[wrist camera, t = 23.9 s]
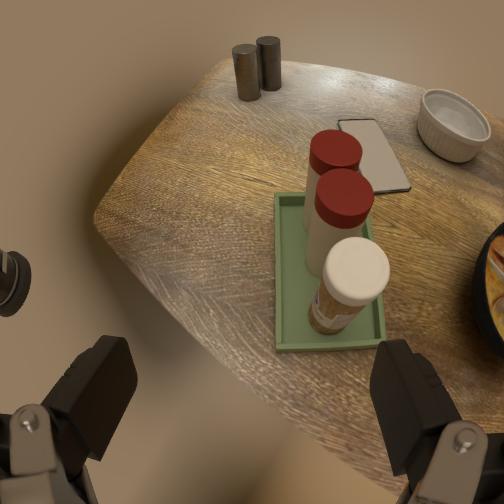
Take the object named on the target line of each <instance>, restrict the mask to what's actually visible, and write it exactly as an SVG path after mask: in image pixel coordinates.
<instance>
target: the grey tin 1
mask: <svg viewBox="0 0 504 504" xmlns="http://www.w3.org/2000/svg"><path fill="white" fill-rule="evenodd" d="M232 55H233V62H234V69H235V76H236V83H237V90H238V97H239V99H241V100H243V101H254V100H257V99H258V98H260V96H261V91H260V78H259V66H258V54H257V47H256V46H255V45H252V44H241V45H238V46H235V47H234V48H233V49H232Z"/></svg>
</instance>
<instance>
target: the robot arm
mask: <svg viewBox="0 0 504 504" xmlns="http://www.w3.org/2000/svg"><path fill="white" fill-rule="evenodd" d="M19 277H20V268H19V264H18V262H17V260H16V259H15V258H13V257H12V256H9V255H8V254H7V253H6V252H4V251H3V250H1V249H0V307H1V306H4V305H6V304H7V303H8V302H9V301H10V300H11V298H12V297H13V295H14V293H15V291H16V289H17V286H18V282H19ZM137 381H138V377H137V372H136V368H135V365H134V363H133V359H132V356H131V353H130V349H129V346H128V343H127V341H126V339H125V338H123V337H115V336H107V335H103V336H101V337H100V338H99V340H98V341H97V342H96V343H95V345H94V346H93V347H92V348H89V349H87V350H86V351H84V352H83V353H81V354H80V355H78V356H77V358H76V359H75V360H74V362H73V363H72V364H71V365H70V368H68V369H67V370H66V372H65V373H64V376H62V377H61V378H60V379H59V381H58V382H57V383H56V384H55V386H54V387H53V389H52V390H51V391H50V392H49V394H48V395H47V396H46V398H45V399H44V400H43V402H42V403H41V404H40V405H39V404H28V405H25V406H22V407H21V408H19V409H18V410H16V412H15V413H14V414H13V415H9V414H0V504H98V501H97V498H96V496H95V493H94V490H93V487H92V484H91V480H90V477H89V474H88V470H87V468H86V466H85V464H84V463H85V461H86V459H87V457H88V458H91V459H94V460H97V461H101V459H102V457H103V455H104V453H105V451H106V449H107V446H108V444H109V442H110V440H111V438H112V436H113V434H114V432H115V430H116V428H117V426H118V424H119V422H120V420H121V418H122V416H123V414H124V412H125V410H126V408H127V406H128V404H129V402H130V400H131V398H132V396H133V394H134V392H135V390H136V387H137ZM370 395H371V398H372V401H373V405H374V408H375V411H376V414H377V418H378V421H379V424H380V428H381V431H382V435H383V438H384V442H385V445H386V449H387V452H388V456H389V460H390V463H391V467H392V471H393V475H394V476H399V475H403V474H407V477H408V480H409V481H408V483H407V484H406V486H405V488H404V490H403V492H402V493H401V495H400V497H399V499H398V501H397V503H396V504H504V433H493V434H486V433H485V431H484V430H483V429H482V428H481V427H480V426H479V425H477V424H476V423H474V422H471V421H466V420H462V418H461V416H460V414H459V412H458V410H457V408H456V407H455V405H454V403H453V401H452V399H451V397H450V396H449V394H448V392H447V390H446V388H445V387H444V385H442V381H441V380H440V378H439V376H437V373H436V371H435V369H434V368H433V366H432V364H431V363H430V362H429V361H428V360H427V359H426V358H424V357H423V356H422V355H421V354H419V353H414V354H413V353H412V351H411V349H410V348H409V346H408V344H407V342H406V341H405V340H404V339H397V340H386V341H380V343H379V345H378V348H377V353H376V357H375V361H374V365H373V369H372V373H371V377H370Z"/></svg>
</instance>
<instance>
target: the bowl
mask: <svg viewBox="0 0 504 504" xmlns="http://www.w3.org/2000/svg"><path fill="white" fill-rule="evenodd" d="M472 302H473V312H474V319H475V322H476V325H477V328H478V329H479V331H480V333H481V334H482V336H483V338H484V340H485V341H486V343H487V344H488V346H489V347H490V348H491V349H492V351H493V352H494V353H495V354H496V355H497V356H499V357H500V358H502V359H503V360H504V222H503V223H502V224H500V225H499V226H498V228H497V229H496V230H495V231H494V232H493V233H492V234H491V235H490V237H489V238H488V239H487V241H486V242H485V244H484V246H483V248H482V250H481V252H480V254H479V257H478V259H477V262H476V265H475V270H474V274H473V281H472Z"/></svg>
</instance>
